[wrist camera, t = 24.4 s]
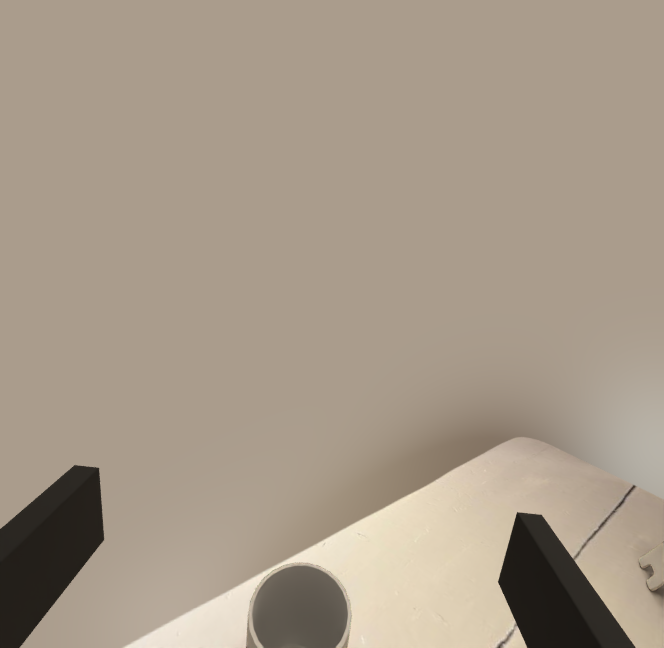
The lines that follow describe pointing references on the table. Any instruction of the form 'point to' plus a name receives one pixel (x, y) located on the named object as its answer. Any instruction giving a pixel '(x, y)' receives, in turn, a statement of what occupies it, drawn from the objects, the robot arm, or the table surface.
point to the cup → (299, 609)
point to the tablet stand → (654, 566)
